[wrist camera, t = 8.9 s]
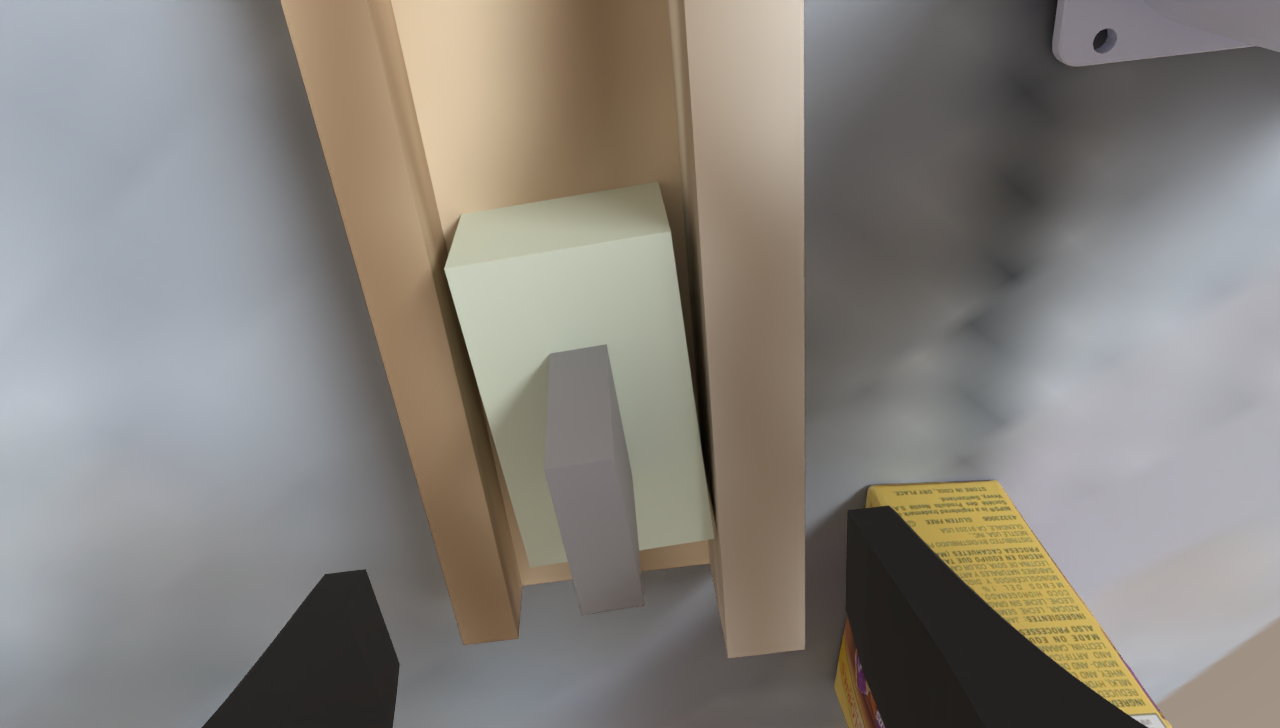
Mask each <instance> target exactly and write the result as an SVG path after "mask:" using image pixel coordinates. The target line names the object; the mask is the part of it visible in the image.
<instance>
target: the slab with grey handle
mask: <svg viewBox="0 0 1280 728" xmlns="http://www.w3.org/2000/svg"><path fill="white" fill-rule="evenodd" d="M444 270H445V273H446V277H447V280H448V284H449V287H450V291H451V294H452V298H453V301H454V305H455V308H456V312H457V315H458V318H459V322H460V325H461V329H462V332H463V336H464V339H465V343H466V346H467V350H468V353H469V357H470V360H471V364H472V367H473V370H474V374H475V377H476V381H477V384H478V388H479V391H480V395H481V398H482V402H483V405H484V409H485V412H486V416H487V419H488V422H489V426H490V429H491V433H492V436H493V440H494V443H495V447H496V450H497V454H498V457H499V461H500V464H501V468H502V471H503V474H504V478H505V481H506V485H507V488H508V492H509V495H510V499H511V502H512V506H513V509H514V513H515V516H516V520H517V523H518V526H519V530H520V533H521V537H522V540H523V544H524V547H525V551H526V554H527V558H528V561H529V565H530V568H532V567H538V566H544V565H551V564H557V563H563V562H568V564H569V568H570V572H571V576H572V580H573V584H574V587H575V591H576V595H577V599H578V603H579V607H580V611H581V615H586V614H593V613H599V612H606V611H612V610H618V609H625V608H631V607H637V606H644V599H643V588H642V577H641V566H640V555H639V550H646V549H652V548H658V547H665V546H671V545H677V544H684V543H690V542H696V541H703V540H709V539H714V534H713V527H712V520H711V513H710V506H709V499H708V492H707V485H706V478H705V470H704V463H703V456H702V449H701V442H700V435H699V428H698V421H697V414H696V407H695V400H694V393H693V385H692V378H691V371H690V364H689V357H688V350H687V343H686V336H685V329H684V322H683V315H682V308H681V300H680V293H679V286H678V279H677V272H676V265H675V258H674V251H673V244H672V237H671V230H670V226H669V222H668V218H667V214H666V210H665V206H664V203H663V199H662V195H661V191H660V187H659V183H658V182H653V183H647V184H641V185H635V186H629V187H623V188H617V189H611V190H605V191H599V192H593V193H587V194H581V195H575V196H569V197H563V198H557V199H551V200H545V201H539V202H533V203H527V204H521V205H515V206H509V207H503V208H497V209H491V210H485V211H479V212H473V213H467V214H461V217H460V220H459V223H458V226H457V230H456V233H455V236H454V239H453V242H452V246H451V249H450V252H449V255H448V258H447V261H446V265H445V268H444Z"/></svg>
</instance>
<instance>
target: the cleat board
mask: <svg viewBox="0 0 1280 728" xmlns="http://www.w3.org/2000/svg"><path fill="white" fill-rule="evenodd" d="M280 1H281V4H282V8H283V12H284V15H285V19H286V22H287V26H288V29H289V33H290V36H291V40H292V43H293V47H294V50H295V54H296V57H297V61H298V64H299V68H300V71H301V75H302V78H303V82H304V85H305V89H306V92H307V96H308V100H309V103H310V107H311V110H312V114H313V117H314V121H315V124H316V128H317V131H318V135H319V138H320V142H321V145H322V149H323V152H324V156H325V159H326V163H327V166H328V170H329V173H330V177H331V180H332V184H333V187H334V191H335V195H336V198H337V202H338V205H339V209H340V212H341V216H342V219H343V223H344V226H345V230H346V233H347V237H348V240H349V244H350V247H351V251H352V254H353V258H354V261H355V265H356V268H357V272H358V275H359V279H360V283H361V286H362V290H363V293H364V297H365V300H366V304H367V307H368V311H369V314H370V318H371V321H372V325H373V328H374V332H375V335H376V339H377V342H378V346H379V349H380V353H381V356H382V360H383V363H384V367H385V370H386V374H387V378H388V381H389V385H390V388H391V392H392V395H393V399H394V402H395V406H396V409H397V413H398V416H399V420H400V423H401V427H402V430H403V434H404V437H405V441H406V444H407V448H408V451H409V455H410V458H411V462H412V466H413V469H414V473H415V476H416V480H417V483H418V487H419V490H420V494H421V497H422V501H423V504H424V508H425V511H426V515H427V518H428V522H429V525H430V529H431V532H432V536H433V539H434V543H435V546H436V550H437V553H438V557H439V561H440V564H441V568H442V571H443V575H444V578H445V582H446V585H447V589H448V592H449V596H450V599H451V603H452V606H453V610H454V613H455V617H456V620H457V624H458V627H459V631H460V634H461V638H462V641H463V645H468V644H476V643H485V642H493V641H502V640H510V639H518V638H519V624H520V610H521V597H522V585H531V584H540V583H548V582H557V581H565V580H572V576H571V572H570V568H569V564H568V562H563V563H557V564H551V565H544V566H538V567H532V568H530V565H529V561H528V558H527V554H526V551H525V547H524V544H523V540H522V537H521V533H520V530H519V526H518V523H517V520H516V516H515V513H514V509H513V506H512V502H511V499H510V495H509V492H508V488H507V485H506V481H505V478H504V474H503V471H502V468H501V464H500V461H499V457H498V454H497V450H496V447H495V443H494V440H493V436H492V433H491V429H490V426H489V422H488V419H487V416H486V412H485V409H484V405H483V402H482V398H481V395H480V391H479V388H478V384H477V381H476V377H475V374H474V370H473V367H472V364H471V360H470V357H469V353H468V350H467V346H466V343H465V339H464V336H463V332H462V329H461V325H460V322H459V318H458V315H457V312H456V308H455V305H454V301H453V298H452V294H451V291H450V287H449V284H448V280H447V277H446V273H445V270H444V268H445V265H446V261H447V258H448V255H449V252H450V249H451V246H452V242H453V239H454V236H455V233H456V230H457V226H458V223H459V220H460V217H461V214H467V213H473V212H479V211H485V210H491V209H497V208H503V207H509V206H515V205H521V204H527V203H533V202H539V201H545V200H551V199H557V198H563V197H569V196H575V195H581V194H587V193H593V192H599V191H605V190H611V189H617V188H623V187H629V186H635V185H641V184H647V183H653V182H658V183H659V187H660V191H661V195H662V199H663V203H664V206H665V210H666V214H667V218H668V222H669V226H670V230H671V237H672V244H673V251H674V258H675V265H676V272H677V279H678V286H679V293H680V300H681V308H682V315H683V322H684V329H685V336H686V343H687V350H688V357H689V364H690V371H691V378H692V385H693V393H694V400H695V407H696V414H697V421H698V428H699V435H700V442H701V449H702V456H703V463H704V470H705V478H706V485H707V492H708V499H709V506H710V513H711V520H712V527H713V534H714V539H709V540H703V541H696V542H690V543H684V544H677V545H671V546H665V547H658V548H652V549H646V550H639V555H640V566H641V572H642V571H650V570H659V569H668V568H676V567H685V566H693V565H702V564H710V566H711V572H712V577H713V582H714V587H715V593H716V598H717V603H718V609H719V614H720V619H721V624H722V630H723V635H724V640H725V646H726V651H727V656H728V658H736V657H745V656H753V655H762V654H770V653H779V652H787V651H796V650H804V649H805V323H804V0H280Z"/></svg>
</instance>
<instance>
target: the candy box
mask: <svg viewBox="0 0 1280 728" xmlns="http://www.w3.org/2000/svg"><path fill="white" fill-rule="evenodd" d="M888 505H889V506H890V507H891V508H893V509H894V510H895V511H896V512H897V513H898V514H899V515H900V516H901V517H902V518H903V519H904V521H905V522H906V523H907V524H908V525H909V526H910V527H911V528H912V529H913V530H914V531H915V532H916V533H917V535H918V536H919V537H920V538H921V539H922V540H923V541H924V542H925V543H926V544H927V545H928V546H929V547H930V548H931V549H932V550H933V551H934V552H935V553H936V554H937V555H938V556H939V557H940V558H941V559H942V560H943V561H944V562H945V563H946V564H947V565H948V566H949V567H950V568H951V569H952V570H953V571H954V572H955V573H956V574H957V575H958V576H959V577H960V578H961V579H962V580H963V581H964V582H965V583H966V584H967V585H968V586H969V587H970V588H971V589H972V590H974V591H975V592H976V593H977V594H978V595H979V596H980V597H981V598H982V599H983V600H984V601H985V602H986V603H987V604H989V605H990V606H991V607H992V608H993V609H994V610H995V611H996V612H997V613H998V614H999V615H1001V616H1002V617H1003V618H1004V619H1005V620H1006V621H1007V622H1008V623H1010V624H1011V625H1012V626H1013V627H1014V628H1015V629H1017V630H1018V631H1019V632H1020V633H1021V634H1022V635H1024V636H1025V637H1026V638H1027V639H1028V640H1030V641H1031V642H1032V643H1033V644H1034V645H1036V646H1037V647H1038V648H1039V649H1040V650H1041V651H1043V652H1044V653H1045V654H1046V655H1048V656H1049V657H1050V658H1051V659H1053V660H1054V661H1055V662H1056V663H1058V664H1059V665H1060V666H1062V667H1063V668H1064V669H1065V670H1067V671H1068V672H1069V673H1071V674H1072V675H1073V676H1075V677H1076V678H1077V679H1079V680H1080V681H1081V682H1083V683H1084V684H1085V685H1087V686H1088V687H1090V688H1091V689H1092V690H1094V691H1095V692H1096V693H1098V694H1099V695H1100V696H1102V697H1103V698H1105V699H1106V700H1107V701H1109V702H1110V703H1112V704H1113V705H1115V706H1116V707H1118V708H1119V709H1121V710H1122V711H1123V712H1125V713H1126V714H1128V715H1129V716H1131V717H1132V718H1134V719H1135V720H1137V721H1139V722H1140V723H1142V724H1143V725H1145V726H1147V727H1148V728H1172V727H1171V725H1170V724H1169V722H1168V721H1167V720H1166V719H1165V717H1164V716H1163V714H1162V713H1161V712H1160V710H1159V709H1158V707H1157V706H1156V705H1155V703H1154V702H1153V700H1152V699H1151V698H1150V696H1149V695H1148V693H1147V692H1146V691H1145V689H1144V688H1143V686H1142V685H1141V683H1140V682H1139V681H1138V679H1137V678H1136V676H1135V675H1134V673H1133V672H1132V670H1131V668H1130V667H1129V666H1128V665H1127V664H1126V663H1125V661H1124V660H1123V658H1122V657H1121V655H1120V654H1119V653H1118V651H1117V650H1116V649H1115V647H1114V646H1113V644H1112V643H1111V641H1110V640H1109V638H1108V637H1107V635H1106V634H1105V632H1104V631H1103V629H1102V628H1101V626H1100V624H1099V623H1098V622H1097V620H1096V619H1095V618H1094V616H1093V615H1092V614H1091V612H1090V611H1089V609H1088V608H1087V606H1086V605H1085V603H1084V602H1083V601H1082V599H1081V598H1080V597H1079V596H1078V594H1077V593H1076V592H1075V590H1074V589H1073V587H1072V586H1071V585H1070V583H1069V582H1068V581H1067V579H1066V578H1065V576H1064V575H1063V574H1062V572H1061V571H1060V569H1059V568H1058V567H1057V565H1056V564H1055V562H1054V561H1053V560H1052V558H1051V557H1050V555H1049V554H1048V553H1047V551H1046V550H1045V548H1044V547H1043V546H1042V544H1041V543H1040V541H1039V540H1038V539H1037V537H1036V536H1035V534H1034V533H1033V532H1032V530H1031V529H1030V527H1029V526H1028V524H1027V523H1026V521H1025V520H1024V519H1023V517H1022V516H1021V514H1020V513H1019V512H1018V510H1017V509H1016V507H1015V506H1014V504H1013V503H1012V501H1011V500H1010V498H1009V497H1008V495H1007V494H1006V492H1005V491H1004V490H1003V488H1002V487H1001V485H1000V484H999V483H998V482H997V481H996V480H990V481H964V482H932V483H910V484H883V485H872V486H870V487H869V488H868V491H867V499H866V505H865V508H871V507H879V506H888ZM834 689H835V692H836V695H837V697H838V700H839V703H840V706H841V708H842V711H843V714H844V716H845V720H846V723H847V725H848V728H885V726H884V724H883V721H882V719H881V716H880V714H879V711H878V709H877V706H876V704H875V701H874V699H873V696H872V694H871V691H870V689H869V686H868V684H867V681H866V679H865V676H864V673H863V670H862V667H861V663H860V660H859V656H858V653H857V649H856V646H855V642H854V638H853V634H852V631H851V627H850V623H849V619H848V616H847V618H846V624H845V630H844V634H843V638H842V644H841V649H840V654H839V661H838V665H837V674H836V679H835V684H834Z"/></svg>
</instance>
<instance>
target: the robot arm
mask: <svg viewBox="0 0 1280 728" xmlns="http://www.w3.org/2000/svg"><path fill="white" fill-rule="evenodd" d="M1103 29H1107V34H1108V37H1107V39H1106V42H1105V43H1104V44H1103V45H1102V46H1101V47H1100V48H1098V49H1096V50H1094V49H1093V41H1094V38H1095V36H1096V35H1097V34H1098V33H1099V32H1100V31H1101V30H1103ZM1254 46H1259V47H1262V48H1266V49H1269V50H1273V51H1276V52H1280V0H1058V3H1057V11H1056V18H1055V26H1054V33H1053V40H1052V50H1053V54H1054V55H1055V57H1056V59H1057V60H1059V61H1060V62H1062V63H1064V64H1066V65H1069V66H1076V67H1079V66H1088V65H1096V64H1105V63H1114V62H1123V61H1132V60H1140V59H1149V58H1158V57H1167V56H1175V55H1184V54H1193V53H1202V52H1210V51H1219V50H1228V49H1237V48H1245V47H1254ZM846 612H847V616H848V619H849V623H850V627H851V631H852V634H853V638H854V642H855V646H856V649H857V653H858V656H859V660H860V663H861V667H862V670H863V673H864V676H865V679H866V681H867V684H868V686H869V689H870V691H871V694H872V696H873V699H874V701H875V704H876V706H877V709H878V711H879V714H880V716H881V719H882V721H883V724H884V726H885V728H1148V727H1147V726H1145V725H1143V724H1142V723H1140V722H1139V721H1137V720H1135V719H1134V718H1132V717H1131V716H1129V715H1128V714H1126V713H1125V712H1123V711H1122V710H1121V709H1119V708H1118V707H1116V706H1115V705H1113V704H1112V703H1110V702H1109V701H1107V700H1106V699H1105V698H1103V697H1102V696H1100V695H1099V694H1098V693H1096V692H1095V691H1094V690H1092V689H1091V688H1090V687H1088V686H1087V685H1085V684H1084V683H1083V682H1081V681H1080V680H1079V679H1077V678H1076V677H1075V676H1073V675H1072V674H1071V673H1069V672H1068V671H1067V670H1065V669H1064V668H1063V667H1062V666H1060V665H1059V664H1058V663H1056V662H1055V661H1054V660H1053V659H1051V658H1050V657H1049V656H1048V655H1046V654H1045V653H1044V652H1043V651H1041V650H1040V649H1039V648H1038V647H1037V646H1036V645H1034V644H1033V643H1032V642H1031V641H1030V640H1028V639H1027V638H1026V637H1025V636H1024V635H1022V634H1021V633H1020V632H1019V631H1018V630H1017V629H1015V628H1014V627H1013V626H1012V625H1011V624H1010V623H1008V622H1007V621H1006V620H1005V619H1004V618H1003V617H1002V616H1001V615H999V614H998V613H997V612H996V611H995V610H994V609H993V608H992V607H991V606H990V605H989V604H987V603H986V602H985V601H984V600H983V599H982V598H981V597H980V596H979V595H978V594H977V593H976V592H975V591H974V590H972V589H971V588H970V587H969V586H968V585H967V584H966V583H965V582H964V581H963V580H962V579H961V578H960V577H959V576H958V575H957V574H956V573H955V572H954V571H953V570H952V569H951V568H950V567H949V566H948V565H947V564H946V563H945V562H944V561H943V560H942V559H941V558H940V557H939V556H938V555H937V554H936V553H935V552H934V551H933V550H932V549H931V548H930V547H929V546H928V545H927V544H926V543H925V542H924V541H923V540H922V539H921V538H920V537H919V536H918V535H917V533H916V532H915V531H914V530H913V529H912V528H911V527H910V526H909V525H908V524H907V523H906V522H905V521H904V519H903V518H902V517H901V516H900V515H899V514H898V513H897V512H896V511H895V510H894V509H893V508H891V507H890V506H889V505H888V506H879V507H871V508H863V509H855V510H848V519H847V572H846ZM398 674H399V661H398V658H397V656H396V653H395V650H394V647H393V644H392V642H391V639H390V636H389V633H388V630H387V628H386V625H385V622H384V619H383V617H382V614H381V611H380V608H379V605H378V603H377V600H376V597H375V594H374V591H373V589H372V586H371V583H370V580H369V577H368V575H367V572H366V569H364V570H356V571H348V572H340V573H332V574H325V575H324V576H323V578H322V579H321V580H320V581H319V582H318V584H317V585H316V586H315V587H314V589H313V590H312V591H311V592H310V594H309V595H308V596H307V598H306V599H305V600H304V602H303V603H302V604H301V605H300V607H299V608H298V609H297V611H296V612H295V613H294V615H293V616H292V617H291V618H290V620H289V621H288V622H287V624H286V625H285V626H284V628H283V629H282V630H281V631H280V633H279V634H278V635H277V637H276V638H275V639H274V640H273V642H272V643H271V644H270V646H269V647H268V648H267V650H266V651H265V652H264V653H263V655H262V656H261V657H260V658H259V660H258V661H257V662H256V663H255V665H254V666H253V667H252V668H251V670H250V671H249V672H248V673H247V674H246V676H245V677H244V678H243V679H242V681H241V682H240V683H239V684H238V686H237V687H236V688H235V689H234V691H233V692H232V693H231V694H230V696H229V697H228V698H227V699H226V700H225V702H224V703H223V704H222V705H221V706H220V707H219V709H218V710H217V711H216V712H215V713H214V714H213V715H212V717H211V718H210V719H209V720H208V721H207V722H206V723H205V725H204V726H203V727H202V728H393V720H394V711H395V703H396V694H397V684H398Z"/></svg>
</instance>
